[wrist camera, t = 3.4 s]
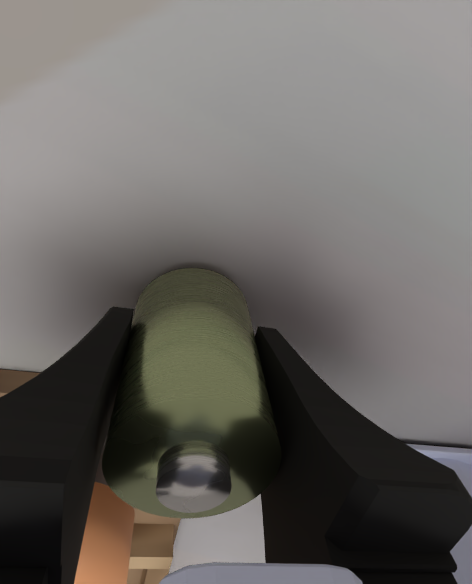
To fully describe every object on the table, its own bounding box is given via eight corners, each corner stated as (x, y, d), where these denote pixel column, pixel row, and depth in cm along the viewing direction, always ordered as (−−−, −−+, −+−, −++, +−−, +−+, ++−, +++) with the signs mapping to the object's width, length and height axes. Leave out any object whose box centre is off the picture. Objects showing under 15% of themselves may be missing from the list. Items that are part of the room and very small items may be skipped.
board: (208, 389, 17) (211, 442, 15) (153, 599, 25) (149, 654, 23) (-25, 366, 15) (-64, 422, 13) (-1, 600, 24) (-22, 660, 21)
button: (141, 482, 15) (133, 552, 12) (128, 549, 17) (120, 618, 15) (10, 476, 14) (-22, 550, 12) (14, 547, 16) (-12, 621, 14)
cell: (260, 278, 14) (311, 432, 8) (234, 367, 15) (260, 545, 10) (142, 258, 13) (103, 414, 7) (129, 356, 15) (90, 541, 9)
